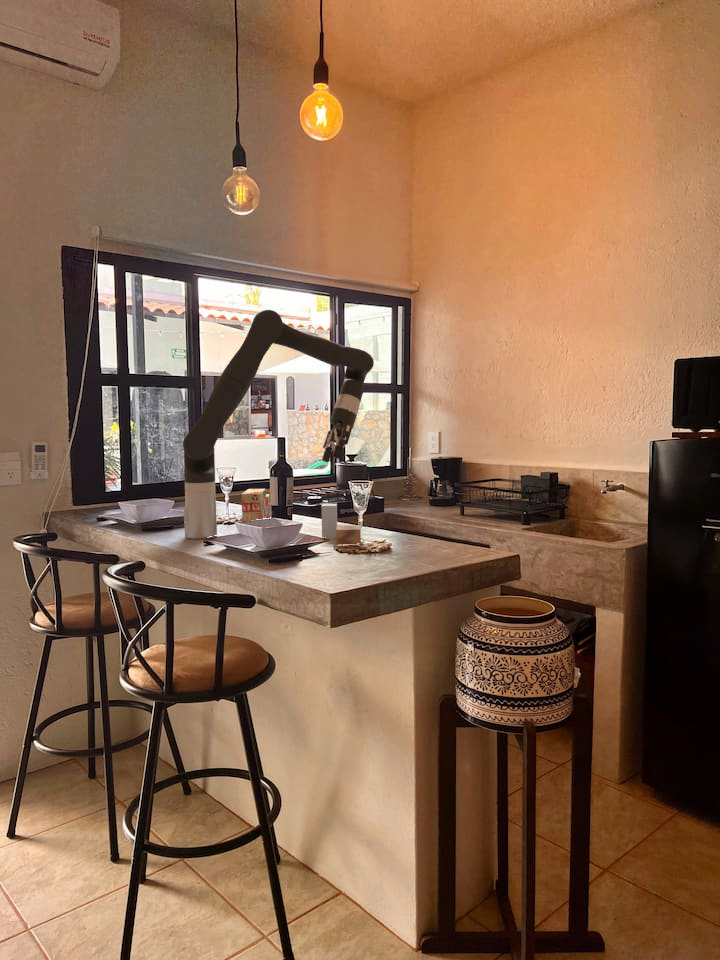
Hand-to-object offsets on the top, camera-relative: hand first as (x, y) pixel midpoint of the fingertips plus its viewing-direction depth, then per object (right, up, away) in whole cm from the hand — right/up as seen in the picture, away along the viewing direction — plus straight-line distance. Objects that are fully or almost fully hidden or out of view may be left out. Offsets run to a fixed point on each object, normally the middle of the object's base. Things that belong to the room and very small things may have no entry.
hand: (330, 459), depth 211 cm
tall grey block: (0, -24, 0) cm, 24 cm away
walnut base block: (+6, -25, -11) cm, 28 cm away
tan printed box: (-26, -22, +25) cm, 42 cm away
